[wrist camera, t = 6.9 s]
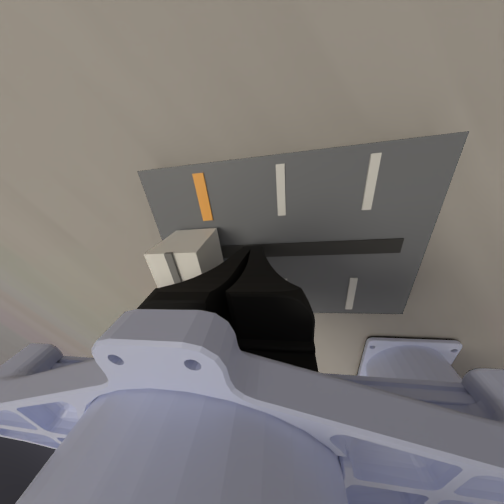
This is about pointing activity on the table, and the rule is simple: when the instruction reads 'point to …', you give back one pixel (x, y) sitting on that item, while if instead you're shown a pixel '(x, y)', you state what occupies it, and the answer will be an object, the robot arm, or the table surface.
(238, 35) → the table surface
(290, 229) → the panel
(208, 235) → the fader
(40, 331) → the table surface
